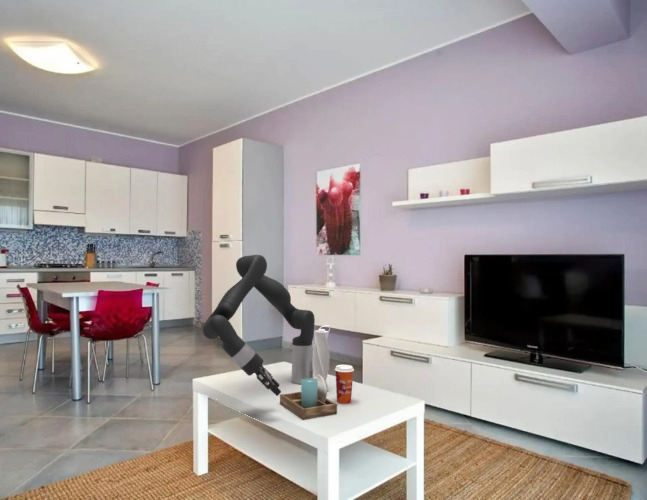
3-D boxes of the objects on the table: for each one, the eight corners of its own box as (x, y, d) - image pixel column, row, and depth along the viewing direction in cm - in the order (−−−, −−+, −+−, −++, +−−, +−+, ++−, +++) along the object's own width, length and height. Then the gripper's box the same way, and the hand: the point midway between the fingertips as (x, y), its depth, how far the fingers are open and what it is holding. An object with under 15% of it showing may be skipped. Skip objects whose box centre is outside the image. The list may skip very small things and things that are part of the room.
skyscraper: (325, 387, 198) (326, 324, 198) (332, 391, 190) (333, 326, 191) (307, 388, 194) (308, 324, 195) (314, 393, 187) (315, 327, 188)
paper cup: (340, 405, 172) (340, 369, 172) (330, 400, 179) (331, 365, 179) (357, 403, 175) (358, 367, 176) (347, 397, 182) (348, 363, 183)
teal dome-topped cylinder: (312, 406, 167) (312, 377, 167) (319, 411, 162) (320, 381, 162) (297, 408, 164) (298, 378, 164) (305, 413, 159) (306, 382, 159)
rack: (311, 398, 180) (312, 369, 180) (336, 413, 163) (337, 380, 163) (279, 403, 173) (280, 372, 173) (302, 419, 156) (303, 385, 156)
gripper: (255, 355, 153) (287, 388, 155) (254, 348, 167) (284, 378, 169) (239, 371, 152) (272, 404, 154) (240, 362, 166) (270, 392, 168)
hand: (278, 390), depth 161 cm, fingers open, 8 cm apart
